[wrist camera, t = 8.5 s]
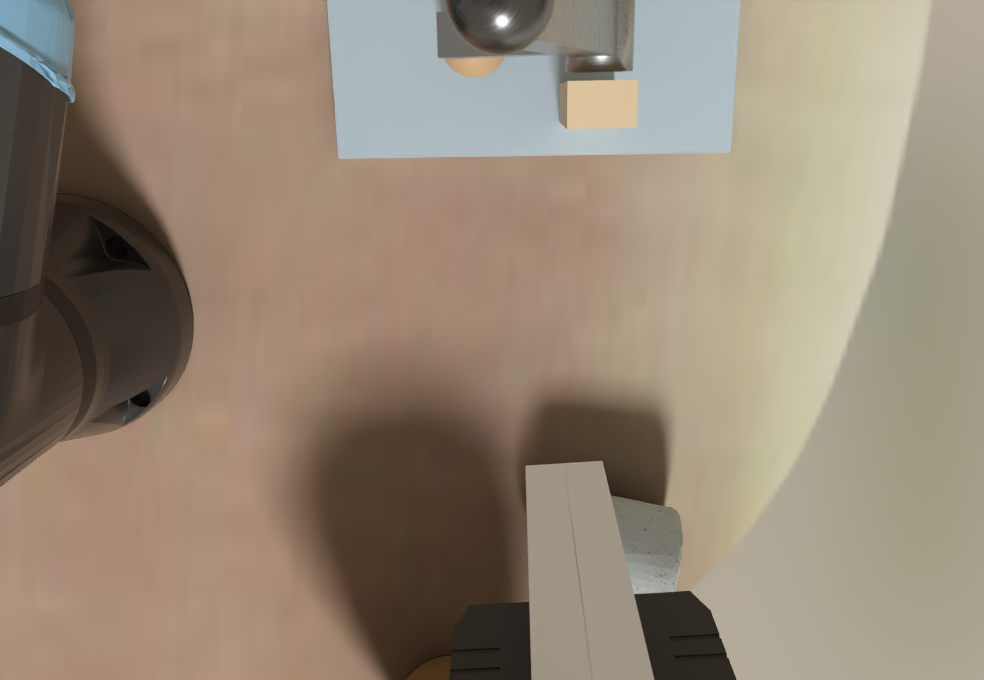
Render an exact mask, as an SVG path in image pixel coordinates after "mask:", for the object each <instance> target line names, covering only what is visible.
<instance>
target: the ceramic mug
mask: <svg viewBox="0 0 984 680" xmlns="http://www.w3.org/2000/svg"><path fill="white" fill-rule="evenodd" d="M611 499H612V503H613V508H614V512H615V516H616V520H617V524H618V529H619V533H620V537H621V541H622V545H623V550H624V554H625V558H626V562H627V567H628V571H629V575H630V579H631V583H632V588H633V592H634V594H644V593H662V592H675V589H676V586H677V582H678V578H679V573H680V568H681V559H682V544H683V537H682V526H681V521H680V516H679V514H678V512H677V511H676V510H675V509H673V508H671V507H666V506H660V505H655V504H651V503H646V502H641V501H637V500H632V499H627V498H622V497H616V496H611Z"/></svg>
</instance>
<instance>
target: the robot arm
mask: <svg viewBox="0 0 984 680" xmlns="http://www.w3.org/2000/svg"><path fill="white" fill-rule="evenodd" d="M74 39H75V17H74V12H73V9H72V6H71V4H70V2H69V0H0V486H2V485H3V484H4V483H6V482H7V481H8V480H10V479H11V478H12V477H13V476H15V475H16V474H17V473H19V472H20V471H21V470H23V469H24V468H25V467H27V466H28V465H29V464H31V463H32V462H33V461H34V460H36V459H37V458H38V457H40V456H41V455H42V454H44V453H45V452H46V451H48V450H49V449H51V448H52V447H53V446H54V445H56V444H57V443H58V442H62V441H67V440H72V439H78V438H83V437H88V436H93V435H99V434H103V433H107V432H111V431H114V430H116V429H119V428H121V427H124V426H126V425H128V424H130V423H132V422H134V421H135V420H137V419H139V418H140V417H142V416H143V415H144V414H146V413H147V412H148V411H149V410H151V409H152V408H153V407H154V406H155V405H157V404H158V403H159V402H160V401H161V400H163V399H164V398H165V397H166V396H167V395H168V394H169V393H170V391H171V390H172V389H173V388H174V386H175V385H176V384H177V382H178V381H179V379H180V377H181V376H182V374H183V372H184V370H185V367H186V365H187V362H188V359H189V356H190V352H191V348H192V341H193V315H192V308H191V303H190V299H189V295H188V292H187V289H186V286H185V284H184V281H183V279H182V277H181V275H180V272H179V270H178V269H177V267H176V265H175V263H174V262H173V260H172V259H171V257H170V256H169V254H168V253H167V252H166V250H165V249H164V248H163V246H162V245H161V244H160V243H159V242H158V241H157V240H156V239H155V238H154V237H153V236H152V235H151V234H150V233H149V232H148V231H147V230H146V229H145V228H144V227H143V226H141V225H140V224H139V223H137V222H136V221H135V220H133V219H132V218H130V217H129V216H127V215H126V214H124V213H122V212H121V211H119V210H117V209H115V208H113V207H111V206H109V205H106V204H104V203H101V202H99V201H96V200H93V199H89V198H85V197H80V196H75V195H66V194H57V187H58V179H59V171H60V163H61V155H62V147H63V139H64V132H65V124H66V116H67V108H68V102H70V103H73V102H74V101H75V96H76V94H75V89H74V87H73V85H72V84H71V76H72V63H73V51H74ZM525 468H526V503H527V538H528V573H529V602H521V603H502V604H484V605H470V606H469V607H468V609H467V610H466V612H465V613H464V614H463V616H462V617H461V619H460V620H459V621H458V623H457V624H456V626H455V630H454V639H453V648H452V657H451V666H450V675H449V680H736V677H735V675H734V672H733V669H732V667H731V664H730V661H729V659H728V658H727V654H726V651H725V648H724V645H723V643H722V640H721V638H720V637H719V632H718V630H717V627H716V624H715V621H714V619H713V617H712V613H711V611H710V610H709V609H708V608H707V607H706V606H705V605H704V604H703V603H702V602H701V601H699V599H698V598H697V597H696V596H694V595H693V594H692V593H691V592H690V591H680V592H662V593H644V594H634V592H633V588H632V583H631V579H630V575H629V571H628V567H627V562H626V558H625V554H624V550H623V545H622V541H621V537H620V533H619V529H618V524H617V520H616V516H615V512H614V508H613V503H612V499H611V495H610V491H609V486H608V482H607V478H606V474H605V470H604V465H603V461H592V462H576V463H560V464H545V465H529V466H525Z"/></svg>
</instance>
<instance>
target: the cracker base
mask: <svg viewBox="0 0 984 680" xmlns="http://www.w3.org/2000/svg"><path fill="white" fill-rule="evenodd" d="M740 5H741V0H635V23H634V56H633V71H628V72H603V73H566V57H565V56H559V55H551V56H523V57H496V58H468V59H444V58H438V48H437V21H436V12H444V11H447V8H446V2H445V0H327V8H328V22H329V36H330V49H331V63H332V77H333V91H334V104H335V118H336V132H337V145H338V159H359V158H422V157H484V156H547V155H610V154H673V153H731V140H732V125H733V110H734V95H735V80H736V65H737V50H738V35H739V20H740Z"/></svg>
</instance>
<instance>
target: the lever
mask: <svg viewBox="0 0 984 680" xmlns="http://www.w3.org/2000/svg"><path fill="white" fill-rule="evenodd" d="M445 2H446V8H447V11H444V12H436V21H437V48H438V58H444V59H468V58H496V57H523V56H551V55H559V56H565V57H566V73H603V72H628V71H633V56H634V23H635V0H445Z"/></svg>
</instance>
